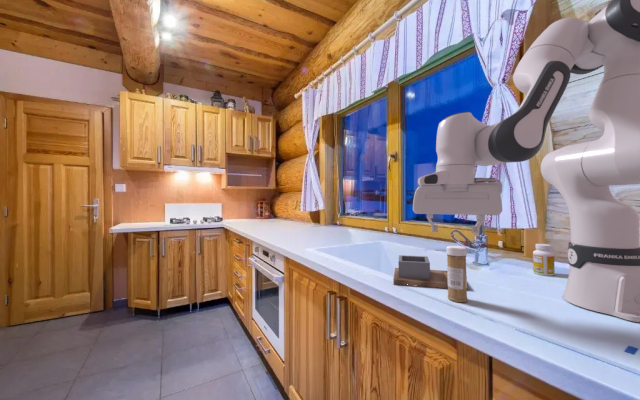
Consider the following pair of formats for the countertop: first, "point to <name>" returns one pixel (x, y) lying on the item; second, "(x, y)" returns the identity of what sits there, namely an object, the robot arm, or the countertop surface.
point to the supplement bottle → (543, 260)
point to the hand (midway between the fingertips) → (454, 232)
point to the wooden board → (436, 279)
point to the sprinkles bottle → (457, 273)
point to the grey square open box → (414, 267)
